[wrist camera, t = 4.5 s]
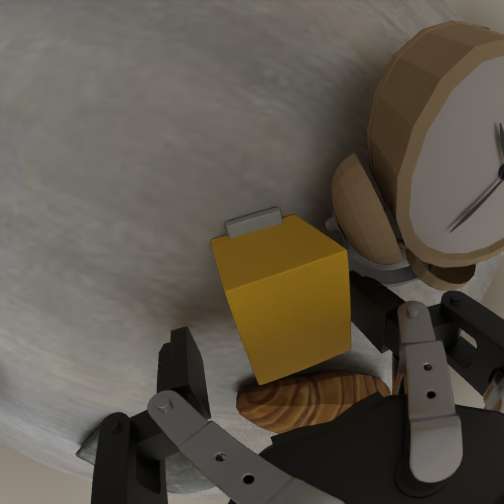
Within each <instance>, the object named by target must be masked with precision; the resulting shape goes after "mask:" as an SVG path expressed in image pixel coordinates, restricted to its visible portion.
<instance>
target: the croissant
mask: <svg viewBox="0 0 504 504" xmlns="http://www.w3.org/2000/svg"><path fill="white" fill-rule="evenodd" d="M377 391H379V392H380V393H381V395H382V396H383V397H384V396H388V395H390V393H391V392H390V390H389V388H388V386H387V385H386V384H385V383H384V382H383V381H382V380H381V379H380V378H377V377H374V376H371V375H367V374H359V373H354V372H347V371H339V370H334V371H327V372H319V373H315V374H310V375H306V376H288V377H283V378H280V379H277V380H274V381H271V382H268V383H265V384H263V385H259V384H258V383H255V384H252V385H248V386H244V387H242V388H241V389H240V390H239V391H238V393H237V399H236V408H237V410H238V411H239V413H240V415H241V416H243V417H245V418H246V419H248V420H249V421H251V422H252V423H254V424H256V425H257V426H259V427H261V428H264V429H266V430H269V431H272V432H275V433H278V434H281V433H284V432H287V431H290V430H292V429H295V428H298V427H303V426H309V425H315V424H320V423H325V422H329V421H332V420H333V419H335V418H336V417H337V416H339V415H340V414H341V413H343V412H344V411H345V410H346V409H348V408H349V407H350V406H351V405H353V404H354V403H356V402H358V401H360V400H362V399H364V398H365V397H367V396H369V395H371V394H373V393H375V392H377Z"/></svg>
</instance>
